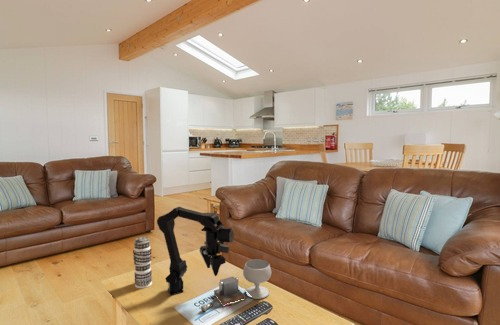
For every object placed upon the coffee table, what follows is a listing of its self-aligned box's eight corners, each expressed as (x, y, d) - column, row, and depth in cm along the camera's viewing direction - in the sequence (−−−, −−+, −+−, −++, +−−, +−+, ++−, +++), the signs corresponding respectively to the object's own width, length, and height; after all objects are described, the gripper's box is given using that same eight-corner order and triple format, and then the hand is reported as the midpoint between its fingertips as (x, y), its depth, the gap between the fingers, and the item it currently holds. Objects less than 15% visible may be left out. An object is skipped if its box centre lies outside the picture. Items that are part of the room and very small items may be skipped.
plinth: (223, 306, 133) (223, 301, 133) (214, 295, 142) (214, 290, 142) (244, 300, 138) (244, 294, 138) (234, 289, 148) (234, 284, 148)
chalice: (252, 283, 154) (252, 256, 153) (276, 290, 147) (276, 262, 146) (237, 295, 142) (237, 266, 141) (262, 304, 135) (262, 273, 134)
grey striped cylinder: (132, 289, 148) (130, 241, 146) (135, 280, 157) (134, 235, 155) (151, 287, 150) (149, 240, 148) (153, 279, 159) (152, 234, 157)
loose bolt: (205, 312, 128) (205, 307, 128) (200, 310, 130) (201, 305, 129) (213, 306, 133) (213, 300, 133) (209, 304, 135) (209, 299, 134)
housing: (221, 297, 136) (221, 285, 135) (217, 292, 140) (217, 280, 139) (240, 291, 140) (240, 280, 140) (235, 287, 145) (235, 275, 144)
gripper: (235, 243, 134) (235, 275, 135) (219, 231, 150) (219, 261, 151) (213, 247, 128) (213, 281, 130) (199, 235, 145) (199, 265, 146)
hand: (212, 271), depth 139 cm, fingers open, 9 cm apart
